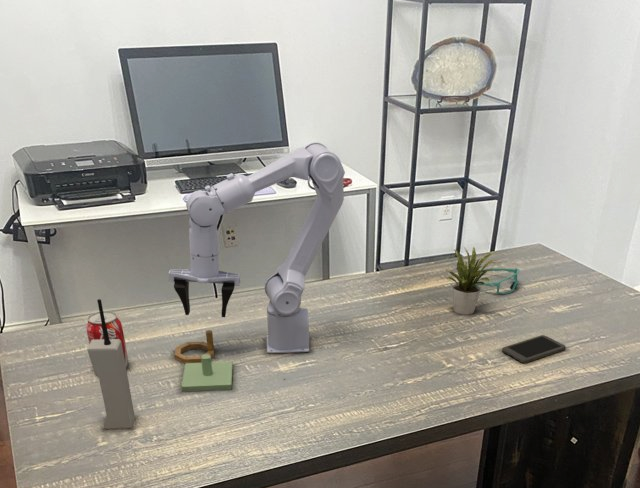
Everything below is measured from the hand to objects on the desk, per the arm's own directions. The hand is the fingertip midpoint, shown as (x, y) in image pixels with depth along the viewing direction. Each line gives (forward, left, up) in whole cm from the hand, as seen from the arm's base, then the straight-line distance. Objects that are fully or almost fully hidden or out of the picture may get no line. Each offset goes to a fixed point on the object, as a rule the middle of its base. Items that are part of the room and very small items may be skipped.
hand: (205, 314), depth 146 cm
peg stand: (0, +11, -10) cm, 15 cm away
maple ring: (+3, 0, -10) cm, 10 cm away
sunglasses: (-76, -36, -10) cm, 84 cm away
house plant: (-65, -19, -10) cm, 68 cm away
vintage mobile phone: (+15, +27, -10) cm, 33 cm away
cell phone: (-74, +4, -10) cm, 74 cm away
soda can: (+20, +5, -10) cm, 23 cm away
